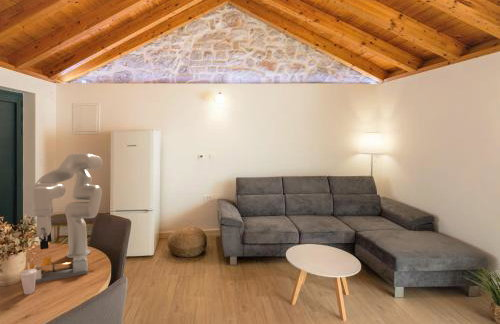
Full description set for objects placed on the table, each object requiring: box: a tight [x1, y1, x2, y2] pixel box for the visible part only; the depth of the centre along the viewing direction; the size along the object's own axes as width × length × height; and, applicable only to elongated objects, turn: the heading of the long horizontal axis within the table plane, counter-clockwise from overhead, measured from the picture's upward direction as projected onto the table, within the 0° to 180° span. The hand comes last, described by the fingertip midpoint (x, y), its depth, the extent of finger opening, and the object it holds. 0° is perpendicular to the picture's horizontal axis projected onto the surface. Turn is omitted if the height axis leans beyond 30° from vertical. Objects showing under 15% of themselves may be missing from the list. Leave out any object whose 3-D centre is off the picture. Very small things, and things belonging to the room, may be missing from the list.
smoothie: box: [18, 262, 37, 295], centre depth 137 cm, size 6×6×14 cm
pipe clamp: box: [25, 256, 53, 270], centre depth 156 cm, size 12×4×6 cm, turn 169°
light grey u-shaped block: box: [33, 264, 43, 280], centre depth 150 cm, size 6×3×5 cm, turn 26°
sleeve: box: [72, 255, 88, 273], centre depth 157 cm, size 6×6×6 cm
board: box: [35, 265, 89, 284], centre depth 154 cm, size 8×24×1 cm, turn 116°
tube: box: [37, 261, 73, 274], centre depth 153 cm, size 4×16×4 cm, turn 116°
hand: (46, 245), depth 151 cm, fingers open, 9 cm apart
